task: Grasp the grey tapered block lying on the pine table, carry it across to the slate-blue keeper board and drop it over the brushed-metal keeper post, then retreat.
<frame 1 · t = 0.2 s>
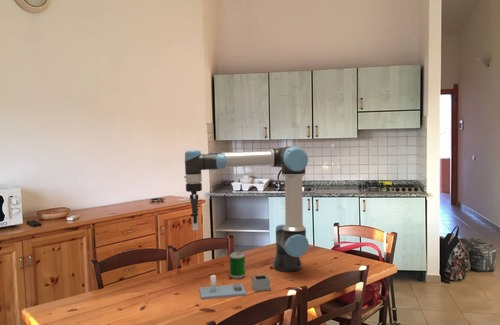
hand: (195, 227, 203), 28 cm above the table, fingers open, 13 cm apart
soda can: (237, 277, 213), on the table
keeper: (222, 292, 192), on the table
grey tapered block: (260, 288, 196), on the table
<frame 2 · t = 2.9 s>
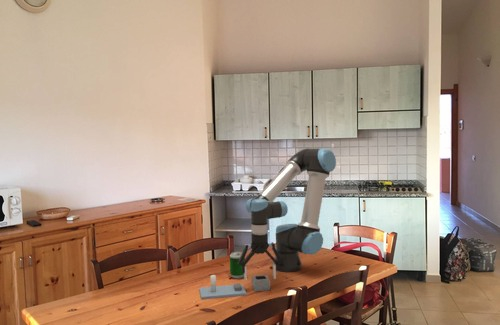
hand: (259, 278, 196), 5 cm above the table, fingers open, 13 cm apart
nothing on the table moved.
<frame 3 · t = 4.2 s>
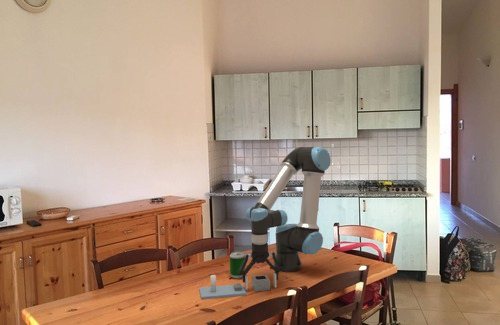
hand: (260, 288, 196), 0 cm above the table, fingers open, 13 cm apart
nothing on the table moved.
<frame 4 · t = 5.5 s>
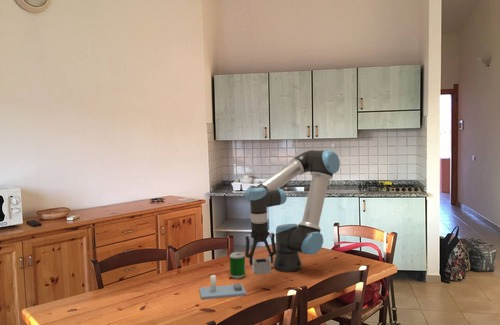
hand: (261, 270, 196), 8 cm above the table, fingers closed on grey tapered block, 7 cm apart
grey tapered block: (261, 271, 196), point 8 cm above the table, touching gripper
everything else where it was.
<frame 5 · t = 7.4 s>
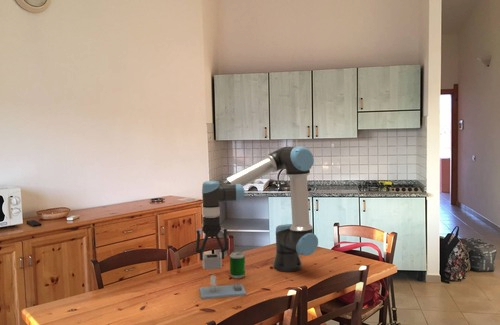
hand: (212, 266, 190), 12 cm above the table, fingers closed on grey tapered block, 7 cm apart
grey tapered block: (212, 267, 190), point 12 cm above the table, touching gripper
everything else where it was.
when the fingers open (3 cm above the table, at t = 9.5 s): grey tapered block drops 2 cm, resting on keeper.
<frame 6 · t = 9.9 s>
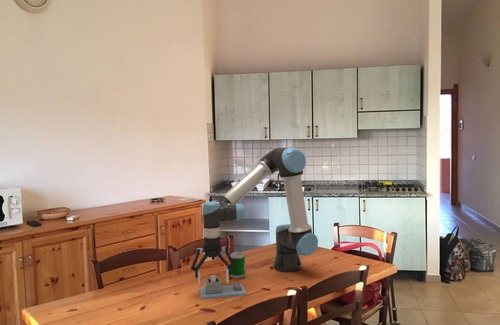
hand: (213, 283, 191), 4 cm above the table, fingers open, 12 cm apart
grey tapered block: (213, 291, 191), point 1 cm above the table, touching keeper
everything else where it was.
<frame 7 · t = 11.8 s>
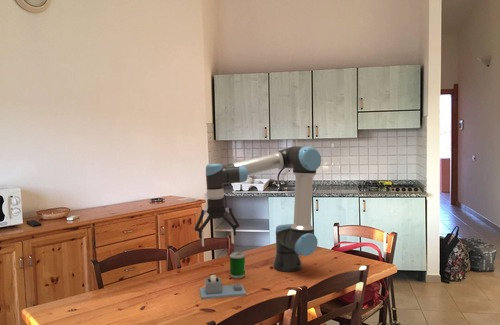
hand: (218, 244, 193), 22 cm above the table, fingers open, 13 cm apart
nothing on the table moved.
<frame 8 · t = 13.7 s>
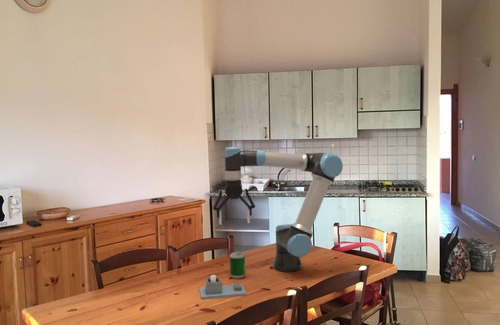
hand: (234, 223, 204), 29 cm above the table, fingers open, 13 cm apart
nothing on the table moved.
at the end: grey tapered block 0.1 cm from the target spot on the keeper, point 1.0 cm above the keeper's base; the gripper is holding nothing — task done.
